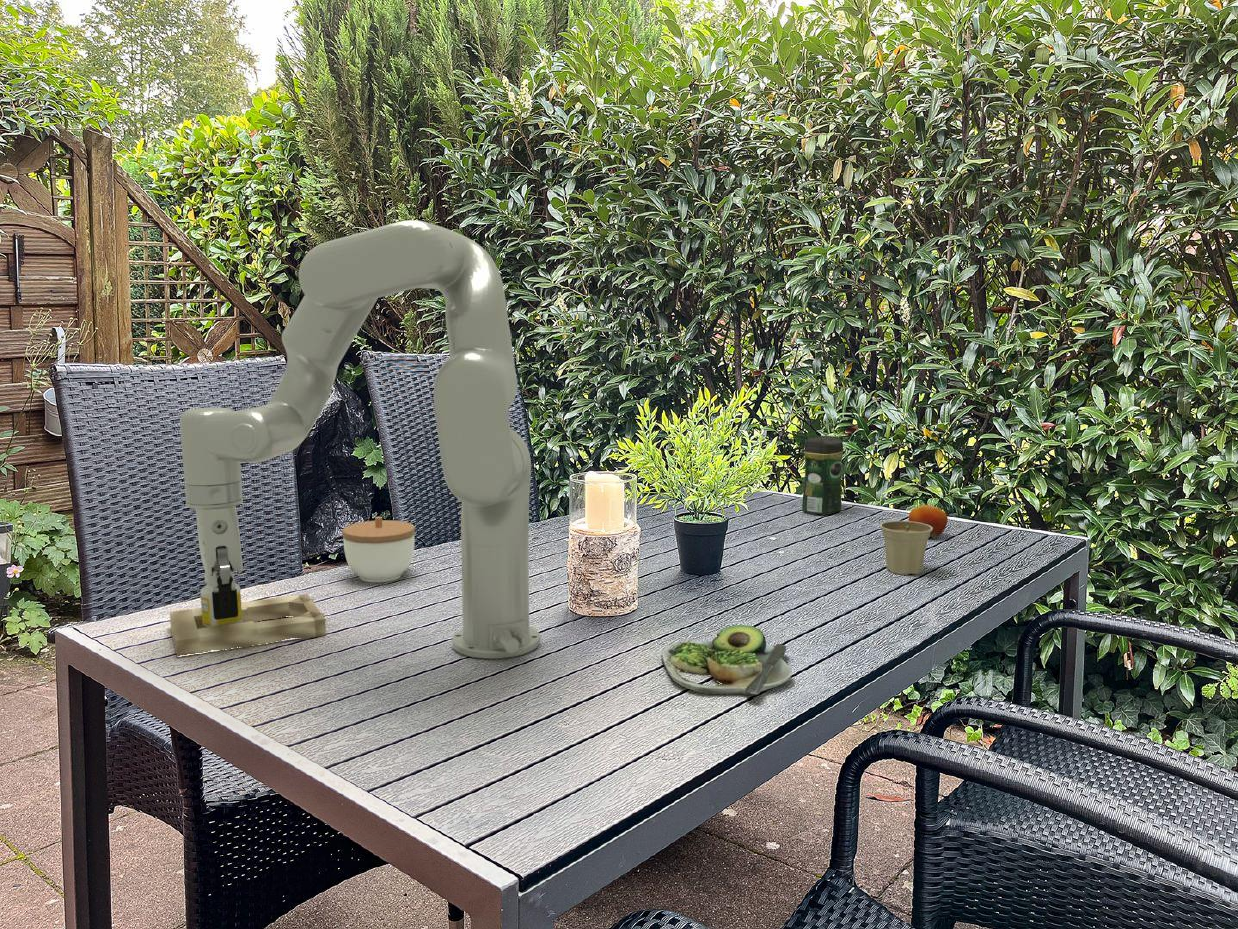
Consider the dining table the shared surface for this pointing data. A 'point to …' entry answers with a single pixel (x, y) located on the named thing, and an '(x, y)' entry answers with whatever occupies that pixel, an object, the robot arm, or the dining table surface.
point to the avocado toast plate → (729, 662)
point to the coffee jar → (822, 475)
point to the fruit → (930, 518)
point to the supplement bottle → (208, 606)
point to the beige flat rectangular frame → (249, 625)
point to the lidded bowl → (379, 549)
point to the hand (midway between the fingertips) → (222, 608)
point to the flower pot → (905, 545)
